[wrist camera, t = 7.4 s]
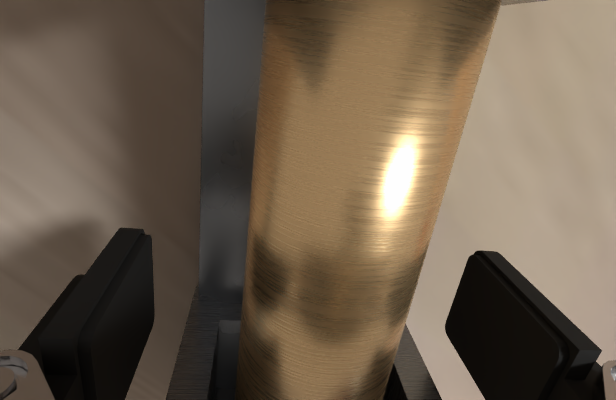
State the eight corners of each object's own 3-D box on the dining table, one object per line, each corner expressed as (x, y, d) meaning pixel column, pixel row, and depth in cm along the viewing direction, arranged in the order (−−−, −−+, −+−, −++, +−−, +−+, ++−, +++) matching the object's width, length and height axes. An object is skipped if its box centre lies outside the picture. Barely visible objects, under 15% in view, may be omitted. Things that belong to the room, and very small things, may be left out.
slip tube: (274, -104, 8) (282, -228, 4) (458, -67, 8) (611, -146, 5) (234, 409, 14) (222, 548, 10) (342, 409, 14) (369, 540, 10)
